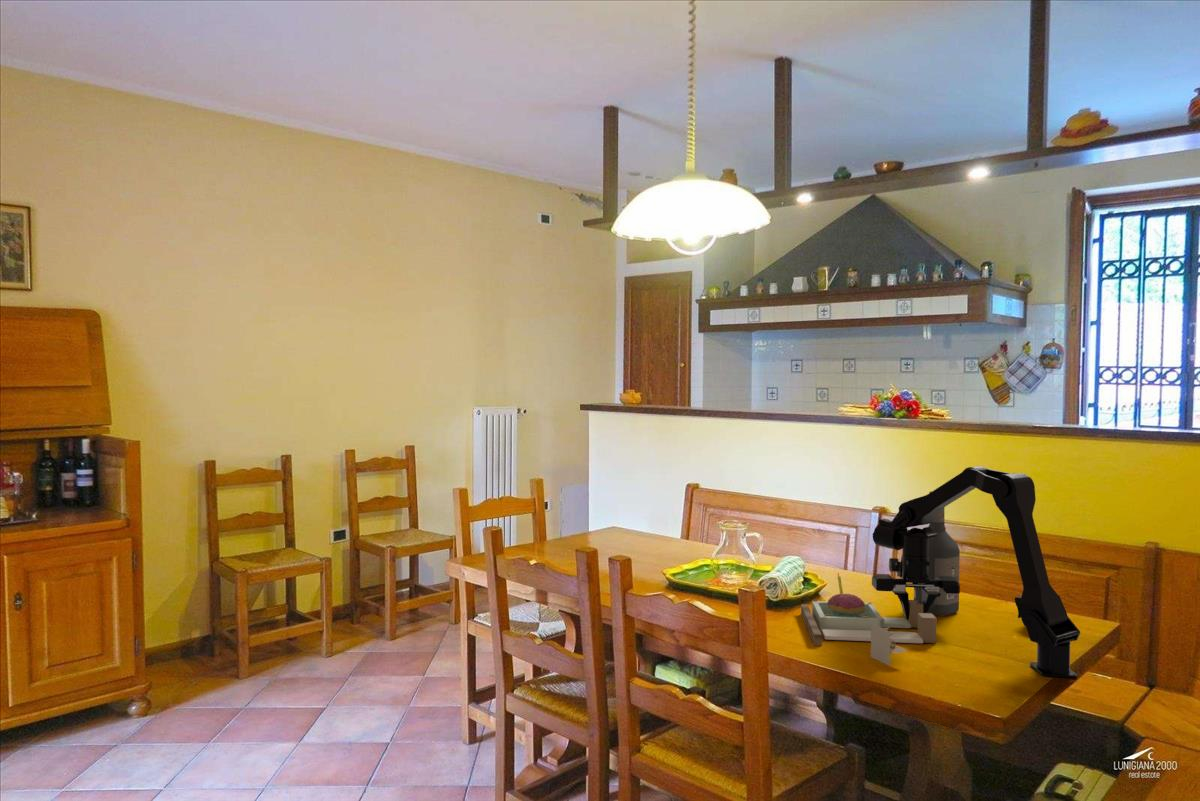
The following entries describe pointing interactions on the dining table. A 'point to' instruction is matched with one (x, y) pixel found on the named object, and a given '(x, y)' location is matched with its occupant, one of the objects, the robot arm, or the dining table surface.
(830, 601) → the cupcake
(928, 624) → the cream lane
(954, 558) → the liquor
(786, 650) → the dining table surface
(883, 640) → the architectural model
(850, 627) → the tray
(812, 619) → the walnut back rail
